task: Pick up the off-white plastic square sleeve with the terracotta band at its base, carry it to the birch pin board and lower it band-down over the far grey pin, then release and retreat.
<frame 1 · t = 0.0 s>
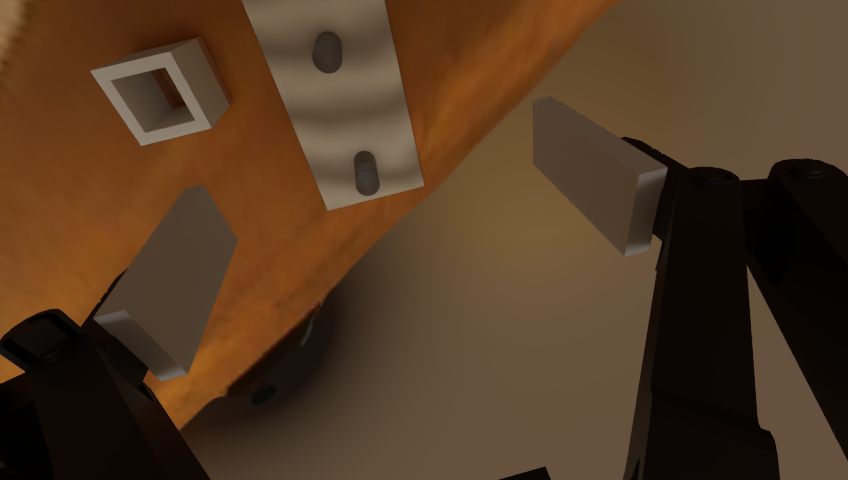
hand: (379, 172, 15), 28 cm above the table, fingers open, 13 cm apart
pin board: (348, 104, 40), on the table
sleeve: (187, 77, 36), on the table
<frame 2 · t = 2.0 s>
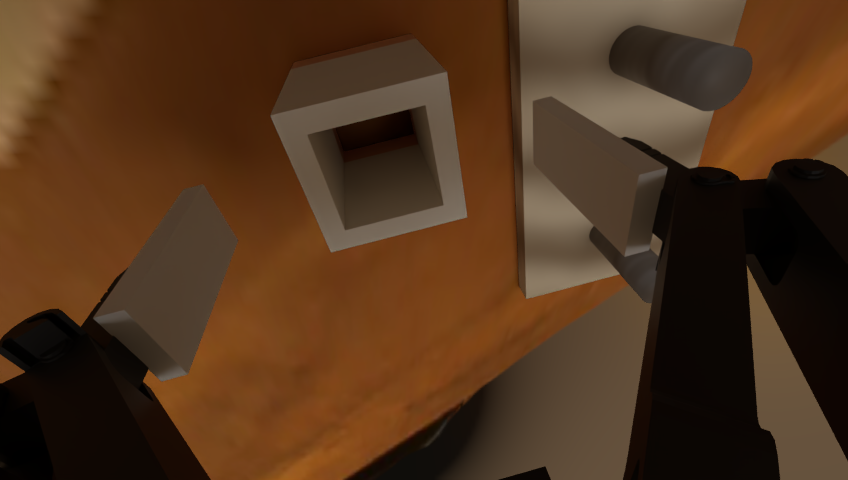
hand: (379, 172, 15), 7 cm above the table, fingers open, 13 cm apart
pin board: (602, 145, 25), on the table
sleeve: (369, 107, 21), on the table
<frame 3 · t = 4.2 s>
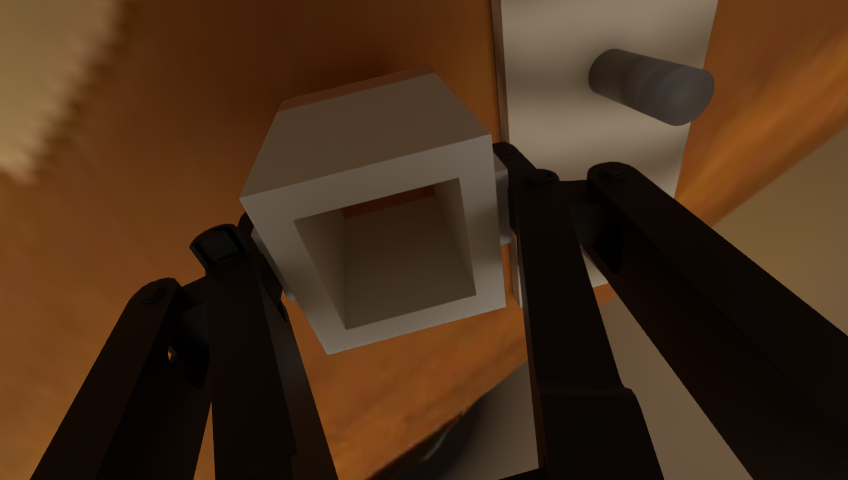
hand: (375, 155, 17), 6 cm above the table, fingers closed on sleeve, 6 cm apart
pin board: (587, 159, 26), on the table
sleeve: (375, 151, 17), point 6 cm above the table, touching gripper
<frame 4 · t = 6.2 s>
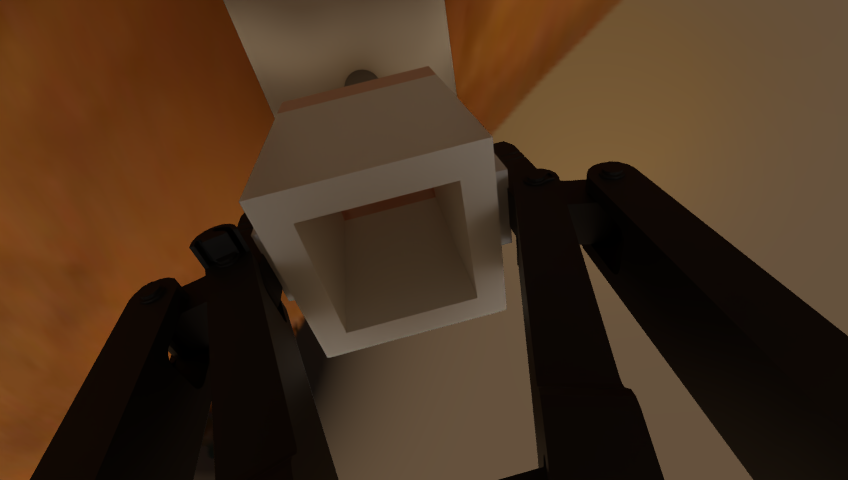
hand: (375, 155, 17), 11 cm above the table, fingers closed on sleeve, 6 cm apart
sleeve: (375, 152, 17), point 11 cm above the table, touching gripper
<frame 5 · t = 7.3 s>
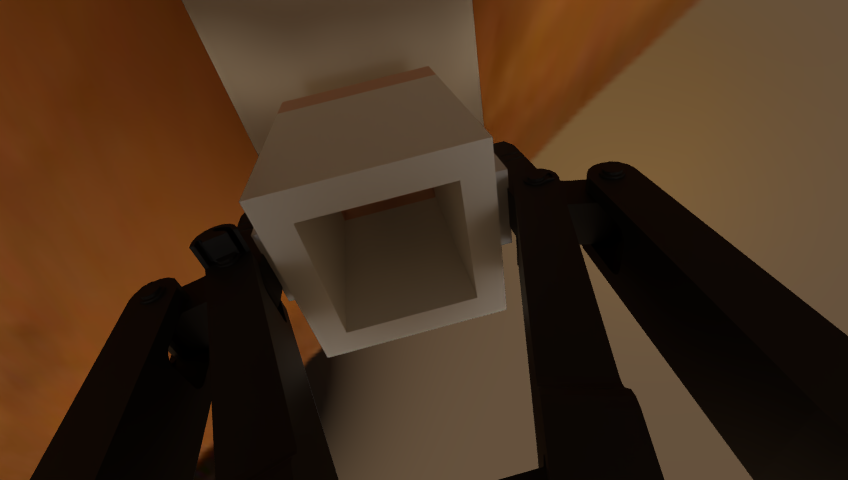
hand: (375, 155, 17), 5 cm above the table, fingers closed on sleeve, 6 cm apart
sleeve: (375, 152, 17), point 5 cm above the table, touching gripper
when the fingers open (2 cm above the table, at t = 8.2 s): sleeve stays where it is, resting on pin board.
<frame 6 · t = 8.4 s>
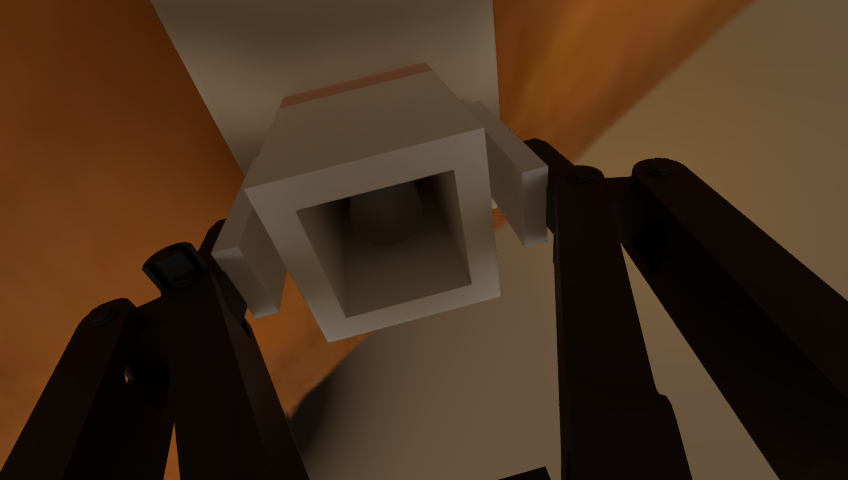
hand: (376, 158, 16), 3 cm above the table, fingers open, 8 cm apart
sleeve: (374, 147, 17), point 1 cm above the table, touching pin board
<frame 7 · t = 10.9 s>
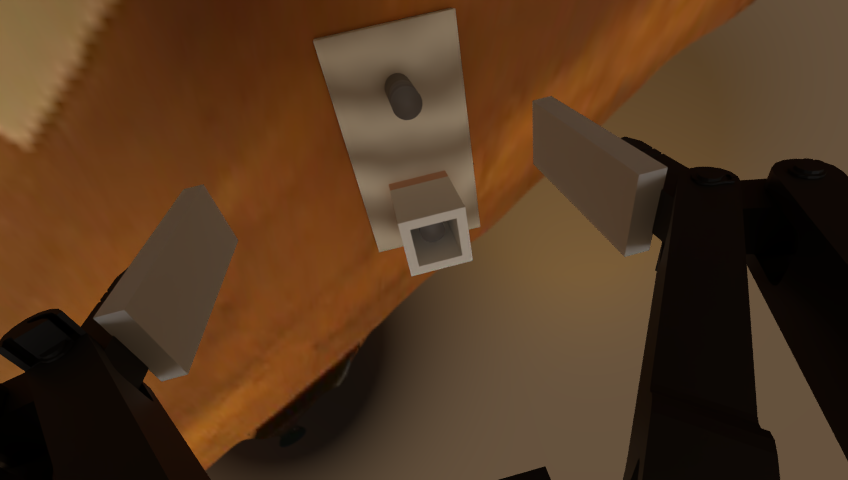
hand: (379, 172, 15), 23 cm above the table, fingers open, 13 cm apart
pin board: (409, 144, 39), on the table
sleeve: (422, 202, 41), point 1 cm above the table, touching pin board
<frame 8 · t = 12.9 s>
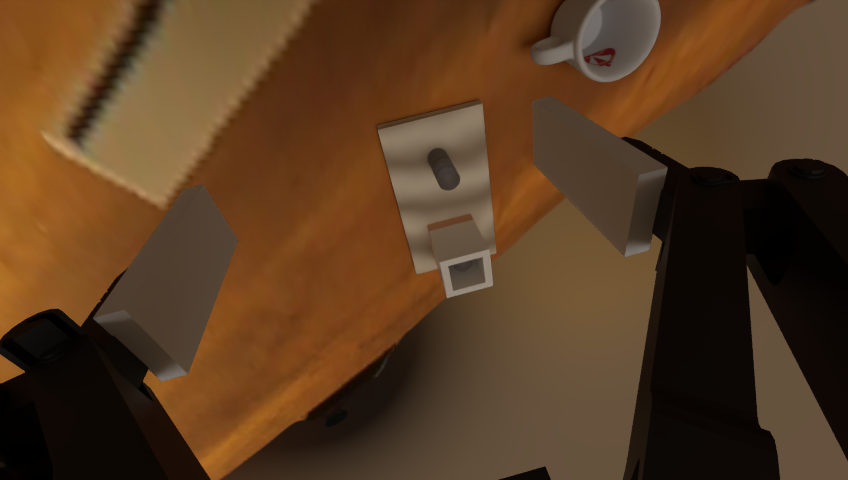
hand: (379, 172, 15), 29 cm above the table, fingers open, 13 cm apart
cup: (562, 30, 41), on the table
pin board: (442, 194, 50), on the table
sleeve: (451, 236, 52), point 1 cm above the table, touching pin board
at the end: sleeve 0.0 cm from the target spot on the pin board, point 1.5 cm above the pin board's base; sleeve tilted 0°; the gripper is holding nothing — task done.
